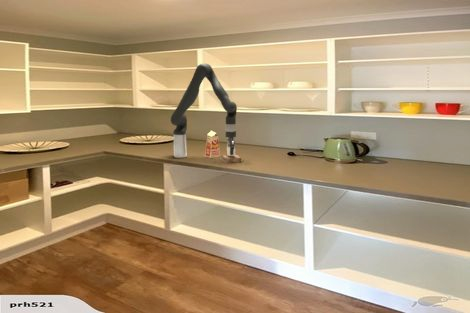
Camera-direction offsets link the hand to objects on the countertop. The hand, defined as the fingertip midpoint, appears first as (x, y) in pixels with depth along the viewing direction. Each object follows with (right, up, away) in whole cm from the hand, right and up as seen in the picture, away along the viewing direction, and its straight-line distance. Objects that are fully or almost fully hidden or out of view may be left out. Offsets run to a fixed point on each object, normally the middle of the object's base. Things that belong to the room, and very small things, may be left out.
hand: (231, 153), depth 272 cm
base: (0, -5, +1) cm, 5 cm away
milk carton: (-14, -2, +17) cm, 22 cm away
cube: (0, -1, 0) cm, 1 cm away
